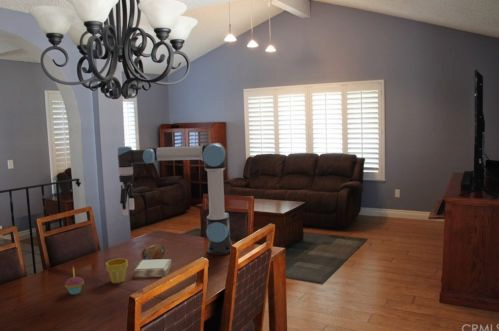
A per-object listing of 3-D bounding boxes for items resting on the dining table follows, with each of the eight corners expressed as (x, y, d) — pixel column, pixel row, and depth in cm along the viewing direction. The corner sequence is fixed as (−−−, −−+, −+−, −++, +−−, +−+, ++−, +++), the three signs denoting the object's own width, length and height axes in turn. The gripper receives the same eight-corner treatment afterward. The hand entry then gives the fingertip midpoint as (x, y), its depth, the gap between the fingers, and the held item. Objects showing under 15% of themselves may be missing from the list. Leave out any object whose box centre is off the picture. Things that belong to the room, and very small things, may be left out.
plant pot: (102, 283, 212) (101, 264, 211) (116, 276, 222) (114, 257, 221) (119, 285, 208) (118, 266, 207) (133, 278, 218) (131, 259, 217)
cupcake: (65, 290, 205) (63, 266, 203) (84, 287, 208) (82, 263, 207) (65, 297, 197) (63, 271, 195) (85, 293, 200) (83, 268, 199)
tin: (144, 264, 238) (143, 249, 237) (141, 263, 240) (140, 248, 239) (165, 257, 250) (164, 242, 249) (161, 256, 252) (160, 242, 251)
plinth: (171, 265, 235) (171, 258, 234) (165, 276, 219) (165, 268, 219) (142, 266, 235) (141, 259, 235) (134, 277, 219) (133, 269, 219)
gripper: (125, 171, 252) (128, 207, 254) (112, 177, 227) (115, 217, 229) (138, 171, 251) (140, 207, 254) (126, 177, 227) (129, 217, 229)
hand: (128, 212), depth 241 cm, fingers open, 13 cm apart
